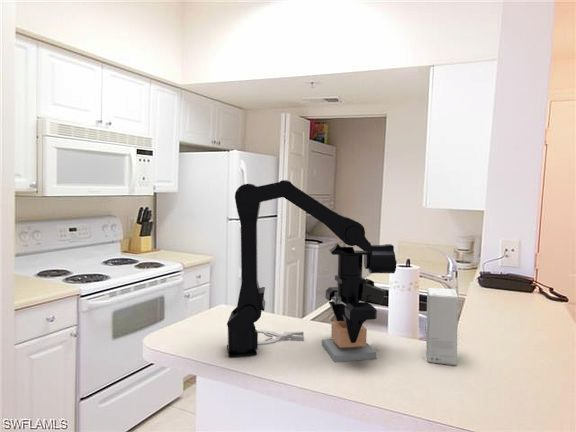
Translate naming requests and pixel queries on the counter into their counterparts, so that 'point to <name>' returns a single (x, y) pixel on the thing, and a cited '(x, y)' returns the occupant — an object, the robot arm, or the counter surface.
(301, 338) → the pliers
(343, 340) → the collar
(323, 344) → the grey peg base
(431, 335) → the skincare box
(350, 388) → the counter surface
